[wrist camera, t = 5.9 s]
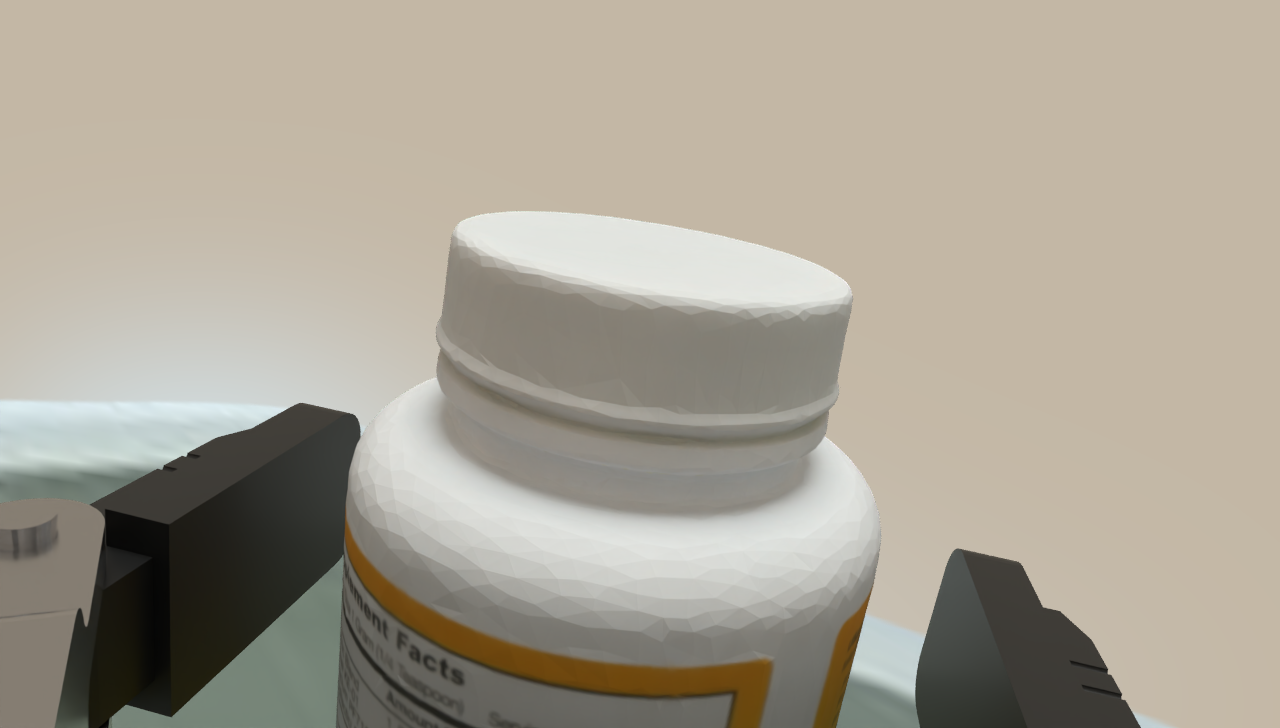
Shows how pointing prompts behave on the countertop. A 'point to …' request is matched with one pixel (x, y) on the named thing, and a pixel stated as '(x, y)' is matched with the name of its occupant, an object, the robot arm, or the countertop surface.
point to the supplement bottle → (610, 492)
